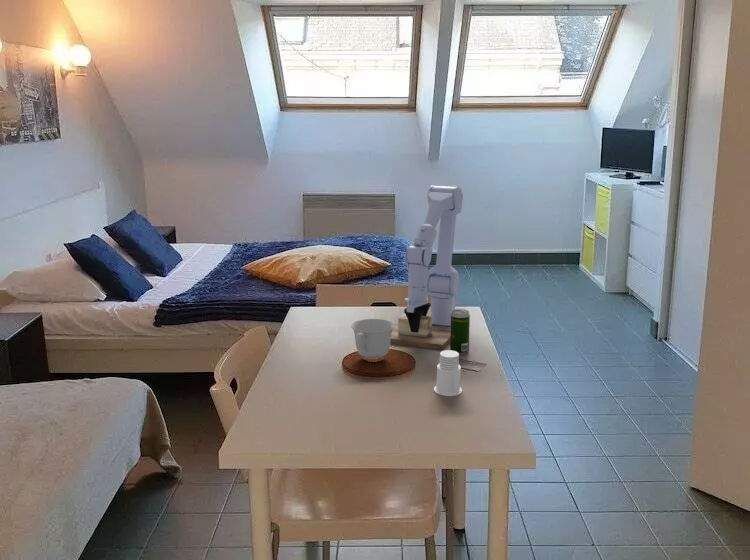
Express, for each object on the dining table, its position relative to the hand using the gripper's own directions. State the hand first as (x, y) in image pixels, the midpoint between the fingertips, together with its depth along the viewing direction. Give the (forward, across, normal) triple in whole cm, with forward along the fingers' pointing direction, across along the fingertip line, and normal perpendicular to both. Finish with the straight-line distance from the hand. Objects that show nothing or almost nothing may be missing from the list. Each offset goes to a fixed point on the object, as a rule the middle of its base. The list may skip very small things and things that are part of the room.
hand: (417, 329), depth 219 cm
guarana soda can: (+3, +7, +15) cm, 17 cm away
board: (+3, 0, 0) cm, 3 cm away
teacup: (+3, +23, -6) cm, 24 cm away
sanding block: (+1, 0, -1) cm, 2 cm away
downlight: (+3, +36, +20) cm, 41 cm away
